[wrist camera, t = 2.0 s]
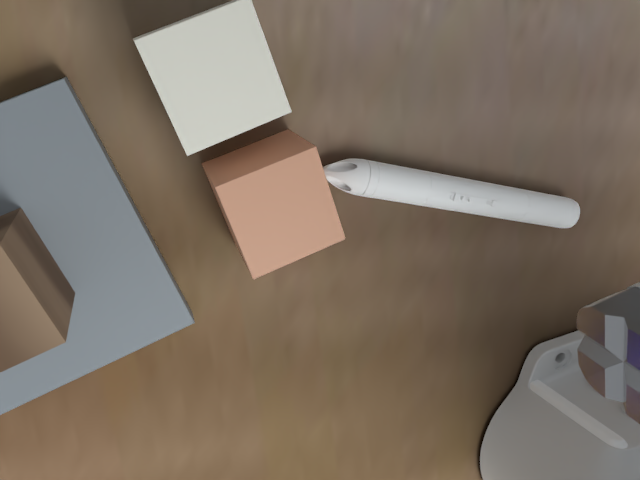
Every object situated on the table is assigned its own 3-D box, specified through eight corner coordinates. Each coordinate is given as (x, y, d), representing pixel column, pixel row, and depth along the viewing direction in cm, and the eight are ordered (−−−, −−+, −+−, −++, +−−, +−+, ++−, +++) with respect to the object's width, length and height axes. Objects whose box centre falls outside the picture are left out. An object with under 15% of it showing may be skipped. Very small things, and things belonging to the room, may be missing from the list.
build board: (66, 76, 26) (64, 78, 25) (192, 312, 32) (194, 322, 31) (-250, 198, 24) (-268, 206, 23) (-51, 427, 30) (-58, 442, 29)
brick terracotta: (288, 128, 30) (316, 146, 26) (315, 209, 32) (345, 238, 28) (201, 163, 29) (214, 187, 25) (235, 243, 32) (253, 279, 27)
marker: (309, 183, 32) (322, 194, 30) (317, 148, 31) (331, 156, 29) (552, 223, 38) (576, 234, 36) (562, 194, 38) (588, 204, 36)
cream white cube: (229, 1, 27) (250, -4, 23) (266, 99, 29) (291, 111, 25) (132, 38, 26) (133, 40, 22) (177, 136, 29) (187, 156, 24)
